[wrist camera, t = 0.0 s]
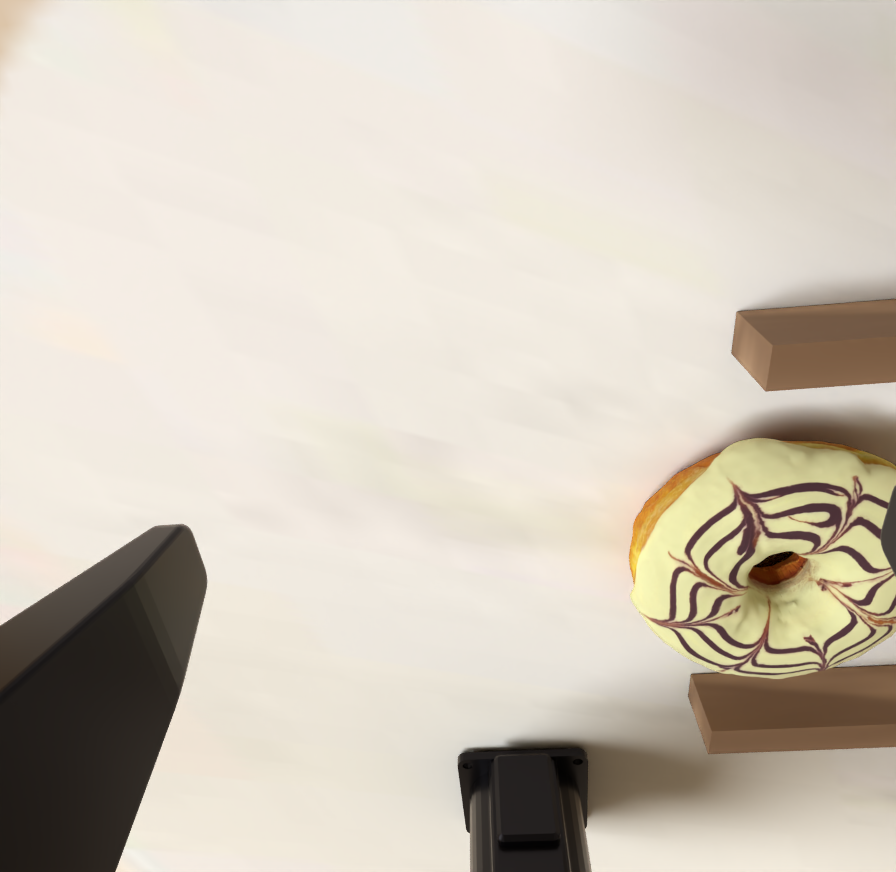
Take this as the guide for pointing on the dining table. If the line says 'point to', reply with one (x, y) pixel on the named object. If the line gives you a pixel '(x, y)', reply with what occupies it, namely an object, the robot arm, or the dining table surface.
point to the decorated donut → (755, 538)
